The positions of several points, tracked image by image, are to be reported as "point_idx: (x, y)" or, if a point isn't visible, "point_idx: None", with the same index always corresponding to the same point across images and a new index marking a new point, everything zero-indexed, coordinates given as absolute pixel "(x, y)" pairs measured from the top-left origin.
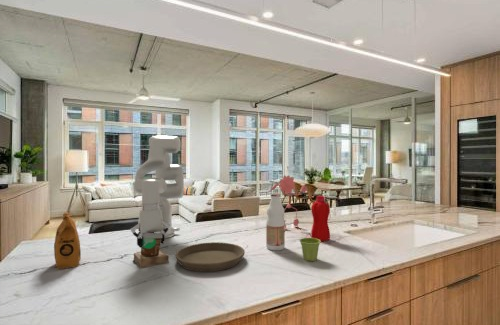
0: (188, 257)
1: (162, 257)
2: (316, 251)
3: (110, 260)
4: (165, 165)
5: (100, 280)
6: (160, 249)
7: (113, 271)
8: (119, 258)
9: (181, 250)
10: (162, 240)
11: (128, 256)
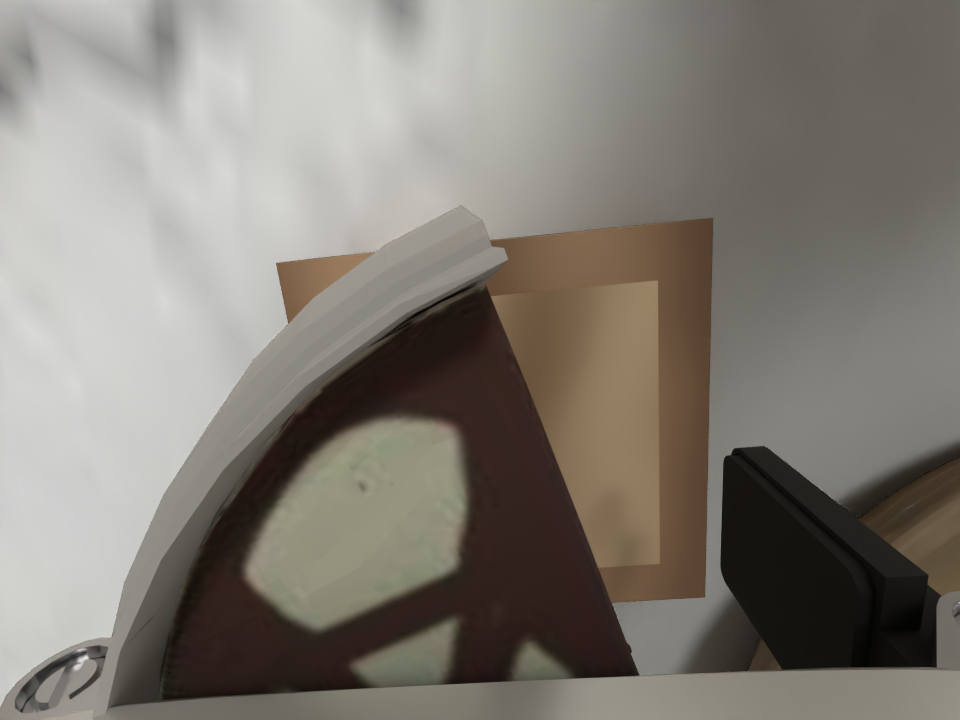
0: (919, 565)
1: (613, 593)
2: None
3: (22, 115)
4: None
5: (33, 658)
6: (701, 278)
7: (112, 517)
8: (131, 84)
9: (939, 545)
10: (766, 632)
11: (251, 51)
